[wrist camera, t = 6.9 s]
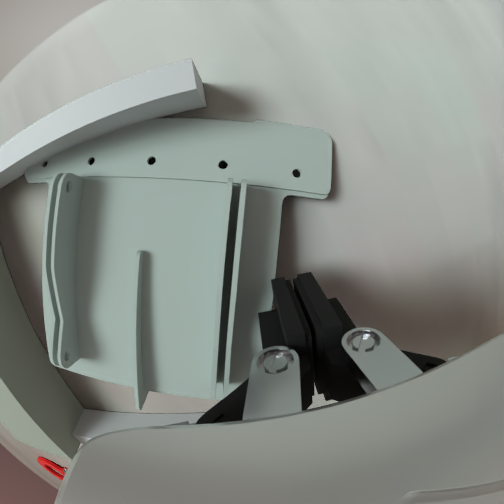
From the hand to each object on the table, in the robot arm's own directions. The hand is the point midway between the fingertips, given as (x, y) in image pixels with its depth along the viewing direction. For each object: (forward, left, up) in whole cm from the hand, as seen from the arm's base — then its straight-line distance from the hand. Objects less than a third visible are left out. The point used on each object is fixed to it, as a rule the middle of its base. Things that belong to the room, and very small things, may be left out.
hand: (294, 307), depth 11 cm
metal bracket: (+6, -3, -3) cm, 7 cm away
